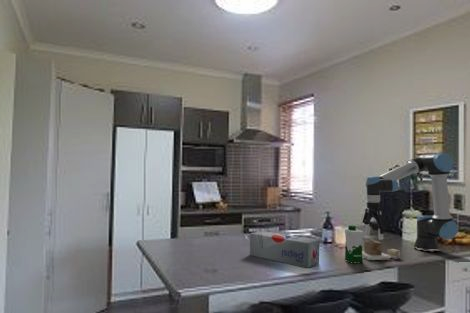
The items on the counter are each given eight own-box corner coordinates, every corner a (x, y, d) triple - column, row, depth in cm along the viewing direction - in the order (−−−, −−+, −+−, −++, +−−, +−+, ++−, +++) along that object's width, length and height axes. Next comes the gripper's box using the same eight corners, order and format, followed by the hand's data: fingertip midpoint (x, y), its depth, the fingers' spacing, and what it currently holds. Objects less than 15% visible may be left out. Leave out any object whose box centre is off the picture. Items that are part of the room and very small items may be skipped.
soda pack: (320, 264, 198) (320, 239, 199) (308, 269, 189) (308, 242, 189) (261, 251, 225) (261, 229, 226) (248, 255, 215) (249, 232, 216)
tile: (376, 254, 224) (376, 250, 224) (390, 260, 211) (390, 256, 211) (356, 255, 221) (356, 251, 221) (369, 261, 207) (369, 256, 208)
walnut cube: (374, 251, 220) (374, 240, 220) (381, 254, 213) (381, 242, 213) (364, 252, 219) (364, 240, 219) (371, 255, 212) (371, 243, 212)
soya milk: (355, 259, 211) (356, 225, 211) (365, 263, 202) (365, 227, 203) (342, 260, 208) (343, 225, 209) (351, 264, 200) (352, 228, 200)
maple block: (392, 257, 219) (392, 248, 219) (399, 258, 215) (399, 250, 215) (387, 258, 216) (387, 249, 216) (394, 259, 212) (394, 251, 212)
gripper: (356, 200, 228) (356, 233, 228) (380, 204, 204) (381, 241, 203) (367, 199, 230) (367, 232, 229) (392, 203, 205) (392, 241, 205)
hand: (373, 237), depth 216 cm, fingers open, 13 cm apart
